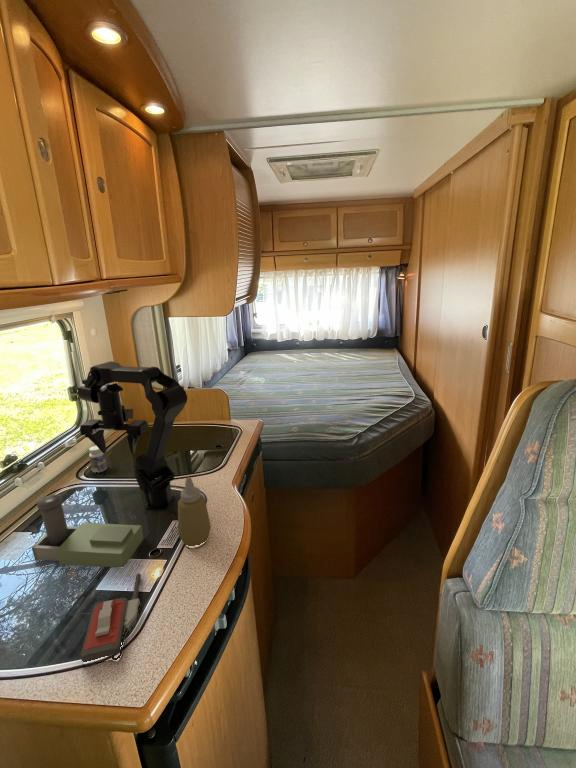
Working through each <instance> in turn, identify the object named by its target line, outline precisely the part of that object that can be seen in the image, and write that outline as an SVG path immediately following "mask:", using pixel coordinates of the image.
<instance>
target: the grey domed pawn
mask: <svg viewBox="0 0 576 768" xmlns="http://www.w3.org/2000/svg"><path fill="white" fill-rule="evenodd" d="M63 502H64V500H63V496H62V494H61V495H60V494H58V493H57V494H56V493H54V494H53V493H52V494H49V495H47V496H44V497H42V498H41V499H39V500H38V501H37V503H36V507H37V509H38V510H39V511H40V514H41V517H42V521H43V525H44V529H45V532H46V533H45V534H47V537H48V541H49V545H50V546H57V547H60V546H61V545H62V544H63V543H64V542H65V541H66V540H67V538H68V537H69V533H68V529H67V526H68V525H67V521H66V516H65V513H64V508H63V504H62V503H63Z"/></svg>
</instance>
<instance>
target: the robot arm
mask: <svg viewBox="0 0 576 768" xmlns="http://www.w3.org/2000/svg"><path fill="white" fill-rule="evenodd" d="M81 381H82V384H80V385H79V388H78V391H77V395H78V397H79V399H80V400H82V401H85V402H88V403H89V402H90V403H94V404H98V405H99V410H98V411H97V415H98V416H100V417H101V419H97V418H96V419H91V418H90V419H88V420H87V421H86V422H84V423H82V424H81V425H80V427H79V433H80V435H81V436H84V437H85V438H87V439H89V440H90V441H91V442H92V443H93V444H94V446H97V447H98V448H99V449H100V450H101V451H102V453H104V454H106V453H107V445H106V441H105V436H104V434H105V431H126V434H127V436H126V439H127V443H128V447H129V450H130V452H131V455H134V454H135V453H136V449H137V446H138V440H139V437H140V436H142V435H143V434H144V433H145V432H146V431H147V430H148V429H149V428H150V427H149V422H148V421H147V420H146V419H134V408H126V407H125V405H124V404H122V403H121V396H120V395H121V394H120V392H122V391H123V390H124V388H123V387H122V386H120V385H119V384H118V383H125V384H127V383H128V384H140V385H141V386H142V387H143V390H144V395H145V399H146V400H147V401H148V402H149V403H150V404H151V411H153V413H154V415H155V417H154V420H153V425H152V429H151V433H150V436H149V441H148V444H147V448H146V451H145V452H144V453H143V454H140V455H138V456H137V457H136V459H135V465H134V466H133V468H134V477H135V479H136V483H137V484H138V487H139V489H140V491H142V492H143V494H144V498H145V503H146V505H145V506H144V507H145V509H146V510H158V511H159V510H161V511H162V510H163V511H165V510H168V508H169V507H170V505H171V504H172V503H173V501H174V500H175V497H176V495H173V493H172V487H171V482H172V481H173V480H175V476H176V475H175V473H174V471H173V470H172V469H171V468H170V466H169V465H168V460H167V459H166V457H165V455H166V450H167V447H168V444H169V443H168V442H169V439H170V436H171V433H172V430H173V426H174V423H175V420H176V417H177V416H179V414H180V413H181V412H182V411H183V410H184V408H185V407H186V404H187V402H188V395H187V392H186V390H185V389H184V388H183V387H182V386H181V384H180V383H179V382H178V381H177V380H176V379H174V378H173V377H171V376H169V375H167V374H165V373H164V372H162V370H161V369H160V368H159V367H157V366H150V367H149V366H124V365H121V364H120V363H119V362H116V361H112V360H110V361H107V362H103V363H100V364H96V365H92V366H90V367H89V371H88V374H87V377H86V378H84V379H82V380H81ZM155 382H156V383H157V384H159V385H160V386H163V387H164V389H161V390H158V391H155V389H154V388H153V384H152V383H155ZM111 383H112V384H111ZM129 419H131V420H132V419H134V420H133V421H132V422H130V423H127V422H128V421H129Z"/></svg>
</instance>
